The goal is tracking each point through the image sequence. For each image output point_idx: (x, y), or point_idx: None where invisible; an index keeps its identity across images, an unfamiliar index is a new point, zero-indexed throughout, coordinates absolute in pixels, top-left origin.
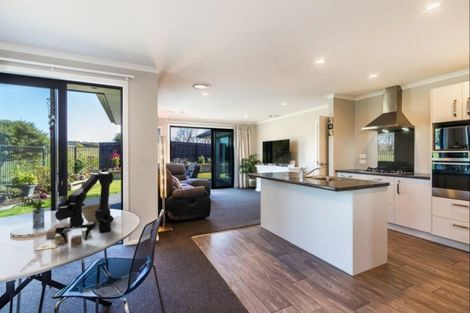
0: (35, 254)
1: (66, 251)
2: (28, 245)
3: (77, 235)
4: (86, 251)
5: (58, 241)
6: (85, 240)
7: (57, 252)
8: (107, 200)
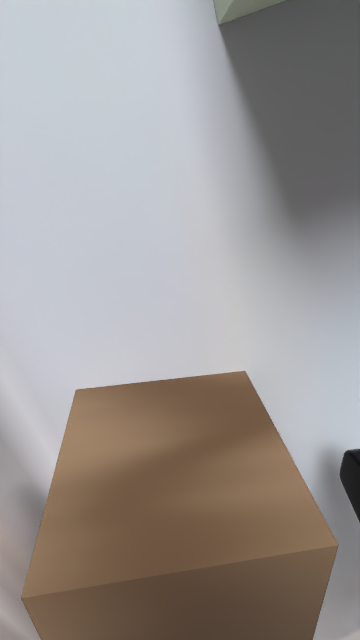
0: None
1: None
2: None
3: (197, 584)
4: (328, 626)
5: None
6: (344, 484)
7: (2, 631)
8: None
